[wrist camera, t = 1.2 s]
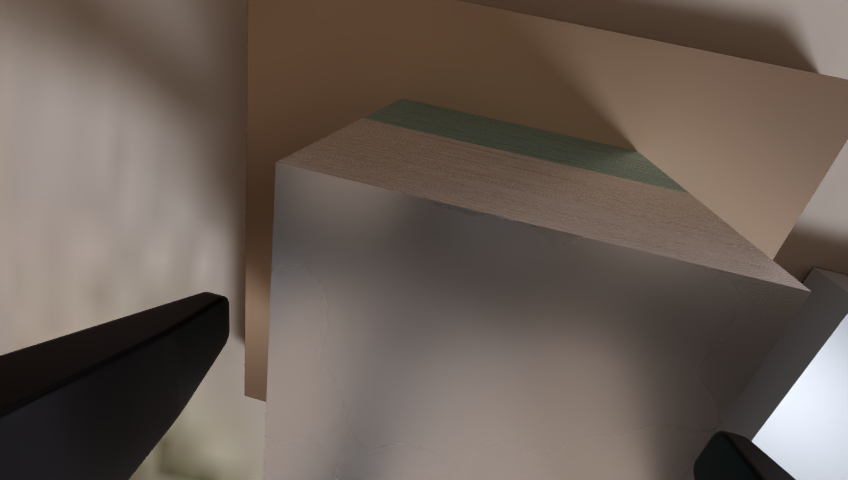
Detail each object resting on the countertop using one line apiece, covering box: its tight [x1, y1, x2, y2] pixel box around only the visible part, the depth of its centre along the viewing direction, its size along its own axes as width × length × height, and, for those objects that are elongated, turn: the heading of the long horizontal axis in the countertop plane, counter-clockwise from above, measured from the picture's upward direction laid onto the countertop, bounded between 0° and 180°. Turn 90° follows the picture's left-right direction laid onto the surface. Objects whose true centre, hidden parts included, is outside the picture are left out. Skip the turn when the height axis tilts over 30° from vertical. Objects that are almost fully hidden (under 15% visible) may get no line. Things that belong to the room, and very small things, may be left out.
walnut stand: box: [245, 0, 848, 402], centre depth 11 cm, size 12×12×2 cm
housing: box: [263, 98, 811, 480], centre depth 8 cm, size 8×5×6 cm, turn 169°
